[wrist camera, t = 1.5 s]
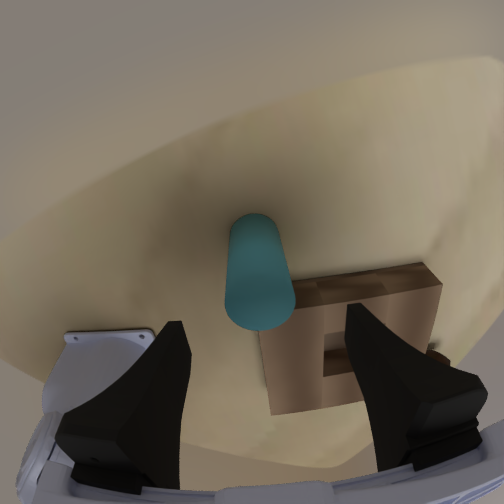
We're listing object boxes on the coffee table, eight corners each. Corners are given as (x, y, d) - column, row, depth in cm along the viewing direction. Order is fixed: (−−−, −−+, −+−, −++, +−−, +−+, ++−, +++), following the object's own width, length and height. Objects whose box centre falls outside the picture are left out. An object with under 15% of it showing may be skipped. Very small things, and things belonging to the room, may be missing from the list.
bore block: (268, 387, 30) (271, 415, 27) (254, 286, 24) (255, 314, 21) (402, 363, 29) (414, 387, 26) (422, 262, 24) (442, 284, 21)
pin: (233, 261, 23) (230, 334, 16) (226, 217, 22) (219, 277, 15) (280, 255, 23) (297, 326, 16) (276, 210, 22) (293, 268, 15)
